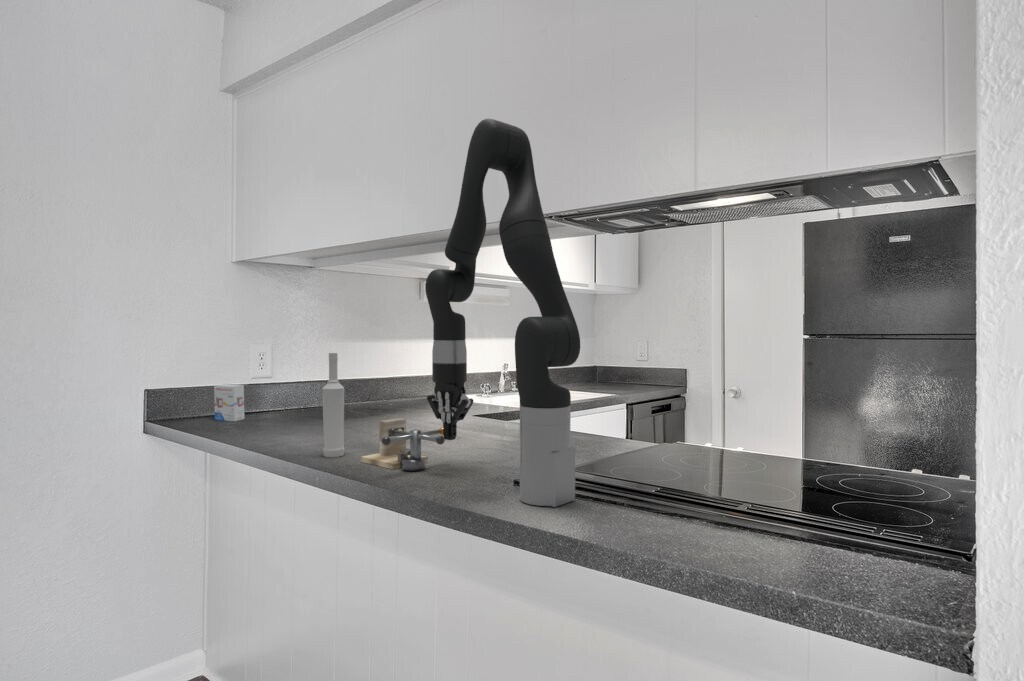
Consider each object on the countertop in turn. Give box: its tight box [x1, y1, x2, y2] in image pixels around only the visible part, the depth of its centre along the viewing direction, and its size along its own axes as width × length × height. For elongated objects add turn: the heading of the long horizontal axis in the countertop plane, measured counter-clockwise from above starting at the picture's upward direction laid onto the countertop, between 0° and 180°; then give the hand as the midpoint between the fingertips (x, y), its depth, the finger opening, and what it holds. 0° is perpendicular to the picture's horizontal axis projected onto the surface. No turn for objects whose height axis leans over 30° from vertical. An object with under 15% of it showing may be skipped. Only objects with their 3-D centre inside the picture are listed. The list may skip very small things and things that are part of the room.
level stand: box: [360, 418, 429, 470], centre depth 146 cm, size 14×10×9 cm
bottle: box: [321, 352, 346, 458], centre depth 154 cm, size 5×5×25 cm
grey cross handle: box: [382, 426, 446, 472], centre depth 139 cm, size 18×18×8 cm
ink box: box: [213, 383, 245, 422], centre depth 212 cm, size 9×5×12 cm, turn 73°
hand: (449, 439), depth 139 cm, fingers closed
